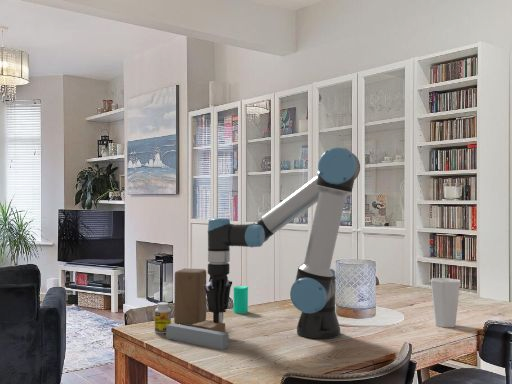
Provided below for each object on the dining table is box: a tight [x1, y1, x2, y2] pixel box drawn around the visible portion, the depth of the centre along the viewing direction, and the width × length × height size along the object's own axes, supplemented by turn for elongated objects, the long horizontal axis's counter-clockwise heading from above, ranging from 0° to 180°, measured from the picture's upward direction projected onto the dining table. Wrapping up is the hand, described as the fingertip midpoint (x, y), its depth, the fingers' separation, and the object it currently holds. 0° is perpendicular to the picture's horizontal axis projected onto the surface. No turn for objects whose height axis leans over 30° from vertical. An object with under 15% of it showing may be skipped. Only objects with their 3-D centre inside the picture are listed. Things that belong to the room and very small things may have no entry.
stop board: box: [165, 322, 229, 350], centre depth 178 cm, size 24×3×4 cm, turn 56°
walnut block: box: [191, 320, 226, 333], centre depth 184 cm, size 8×8×5 cm
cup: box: [429, 277, 461, 328], centre depth 205 cm, size 11×10×17 cm
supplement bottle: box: [154, 301, 172, 335], centre depth 192 cm, size 6×6×10 cm
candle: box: [232, 285, 249, 314], centre depth 228 cm, size 6×6×12 cm
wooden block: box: [173, 268, 207, 326], centre depth 208 cm, size 10×10×20 cm
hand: (218, 331), depth 188 cm, fingers closed
